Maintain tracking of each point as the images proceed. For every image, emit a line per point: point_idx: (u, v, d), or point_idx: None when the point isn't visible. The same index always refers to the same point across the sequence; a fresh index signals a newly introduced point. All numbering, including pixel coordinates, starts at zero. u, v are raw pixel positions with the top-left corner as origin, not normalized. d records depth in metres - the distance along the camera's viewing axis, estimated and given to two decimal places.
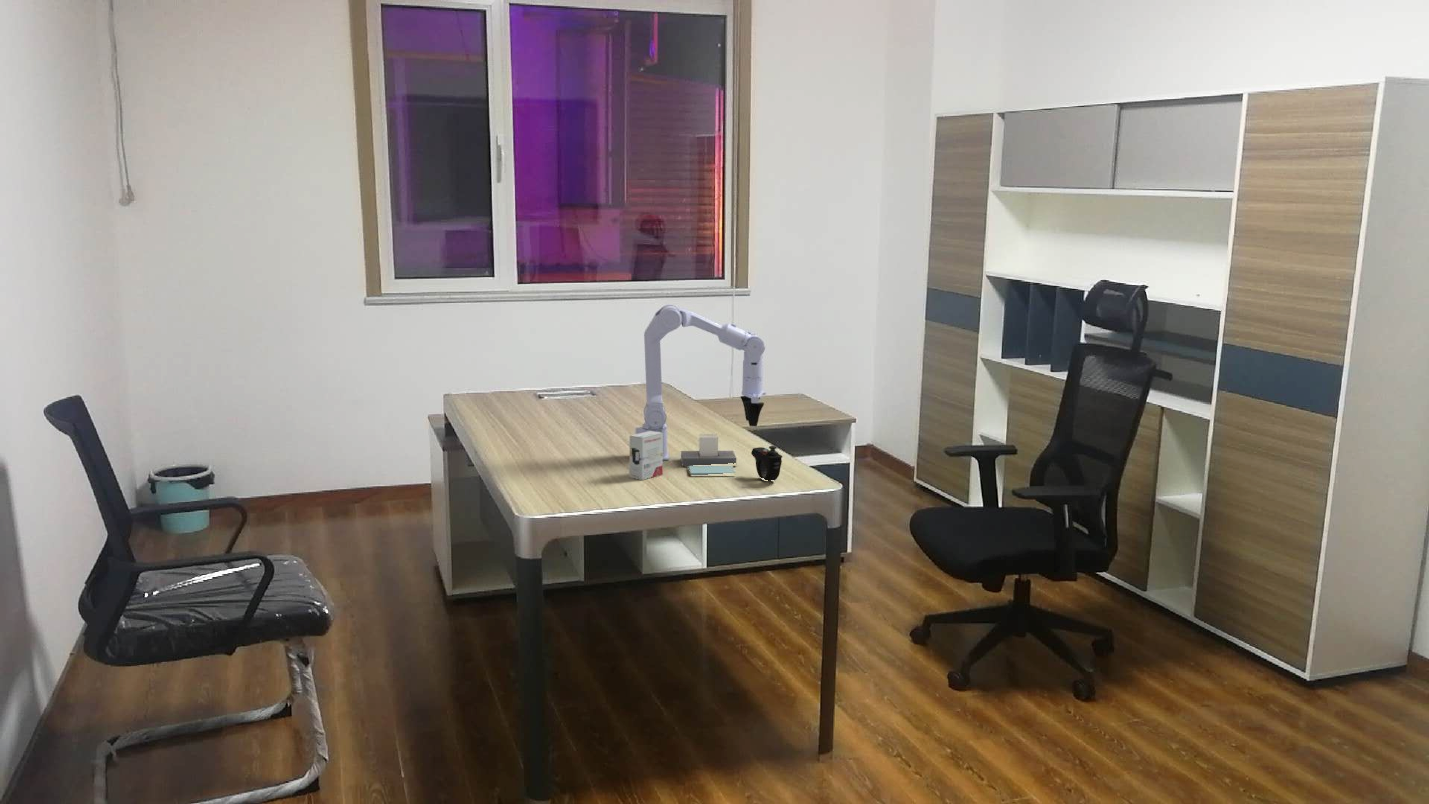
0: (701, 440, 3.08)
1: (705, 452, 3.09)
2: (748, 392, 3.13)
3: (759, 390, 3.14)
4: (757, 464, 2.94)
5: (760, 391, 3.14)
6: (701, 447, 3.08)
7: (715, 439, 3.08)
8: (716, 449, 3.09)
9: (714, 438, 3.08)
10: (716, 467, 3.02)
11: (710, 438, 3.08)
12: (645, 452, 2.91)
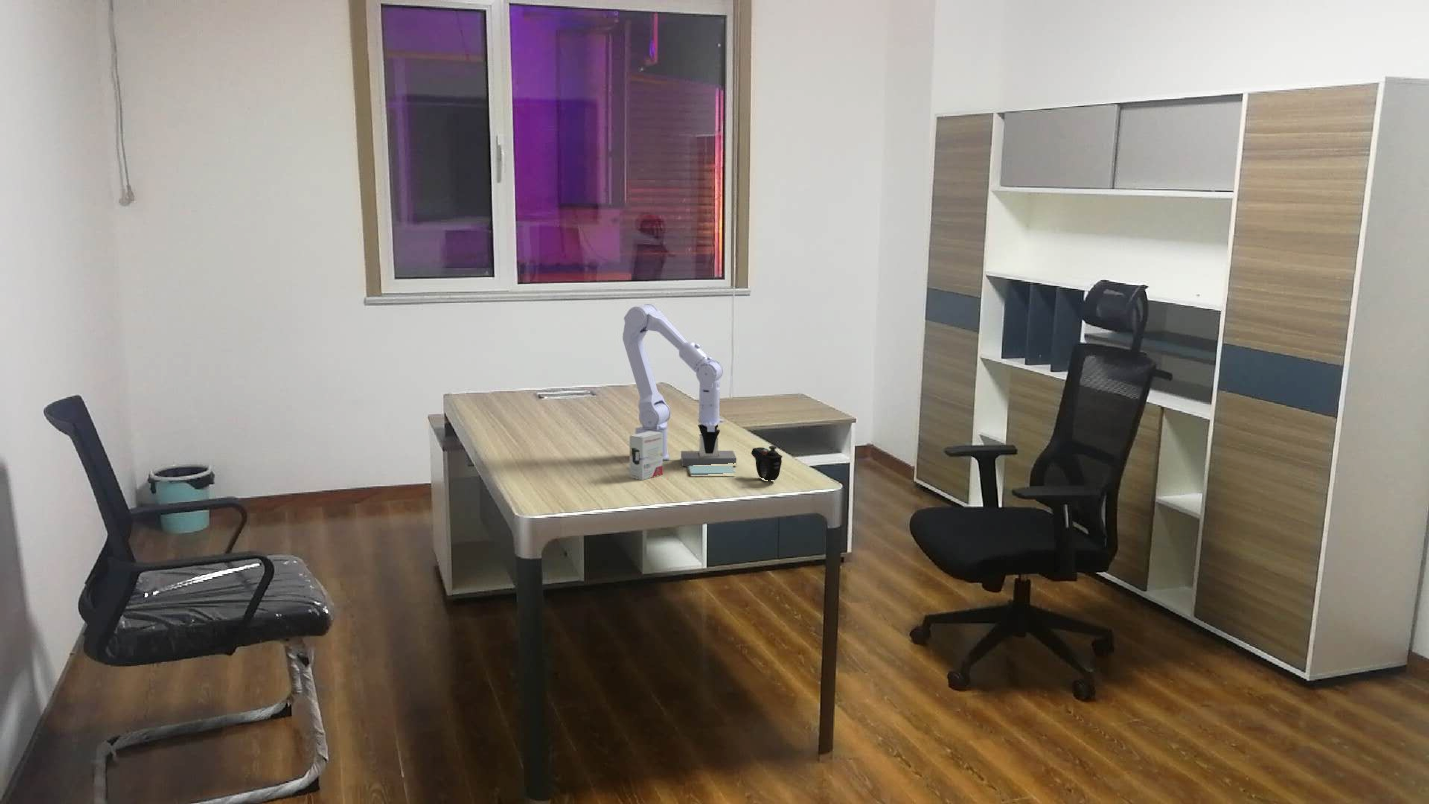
0: (701, 440, 3.08)
1: None
2: (704, 420, 3.06)
3: (716, 418, 3.07)
4: (757, 464, 2.94)
5: (717, 419, 3.07)
6: (701, 447, 3.08)
7: None
8: (716, 449, 3.09)
9: None
10: (716, 467, 3.02)
11: None
12: (645, 452, 2.91)
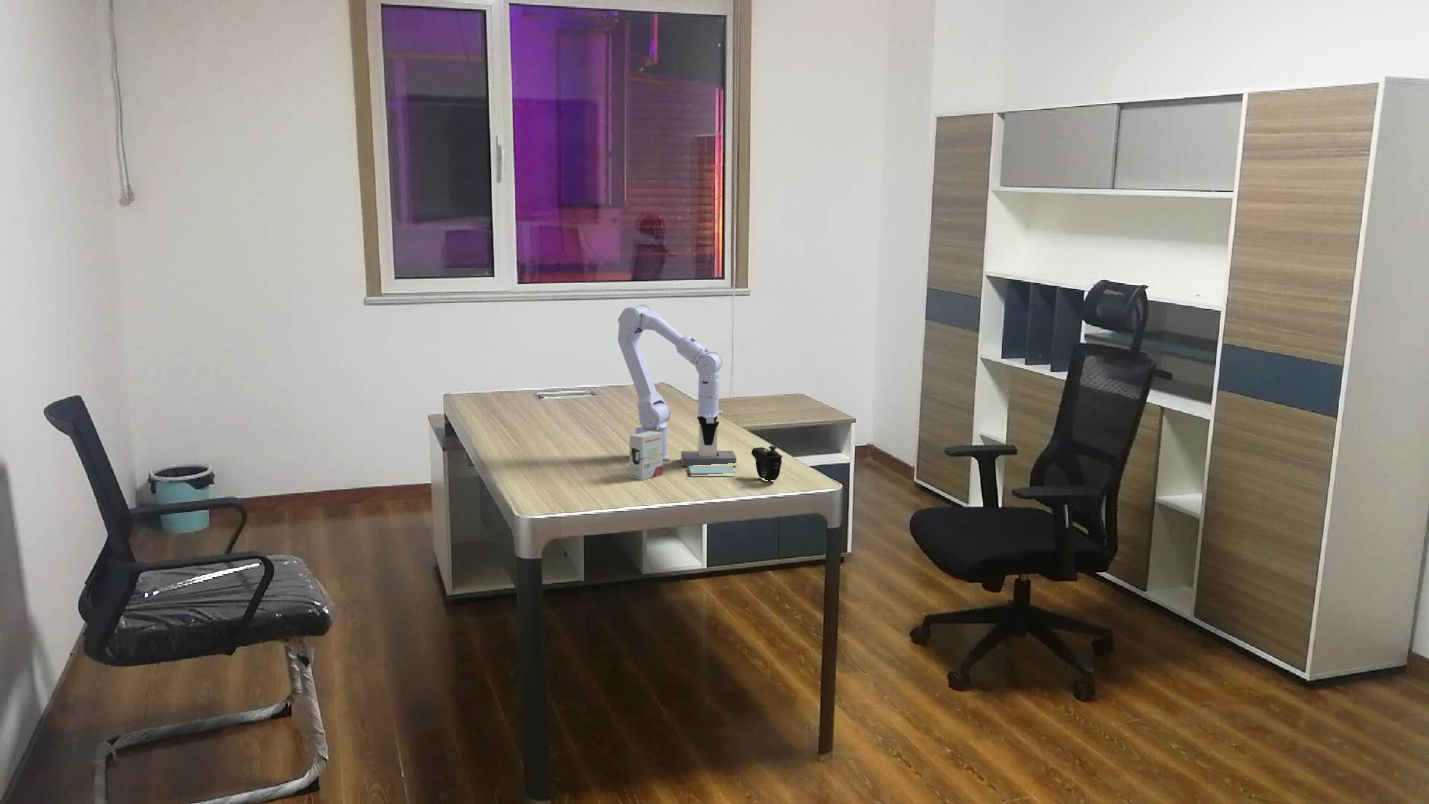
0: (700, 432, 3.07)
1: (704, 444, 3.08)
2: (704, 412, 3.06)
3: (715, 410, 3.06)
4: (757, 464, 2.94)
5: (716, 411, 3.07)
6: (700, 439, 3.08)
7: None
8: (715, 441, 3.08)
9: None
10: (716, 467, 3.02)
11: None
12: (645, 452, 2.91)
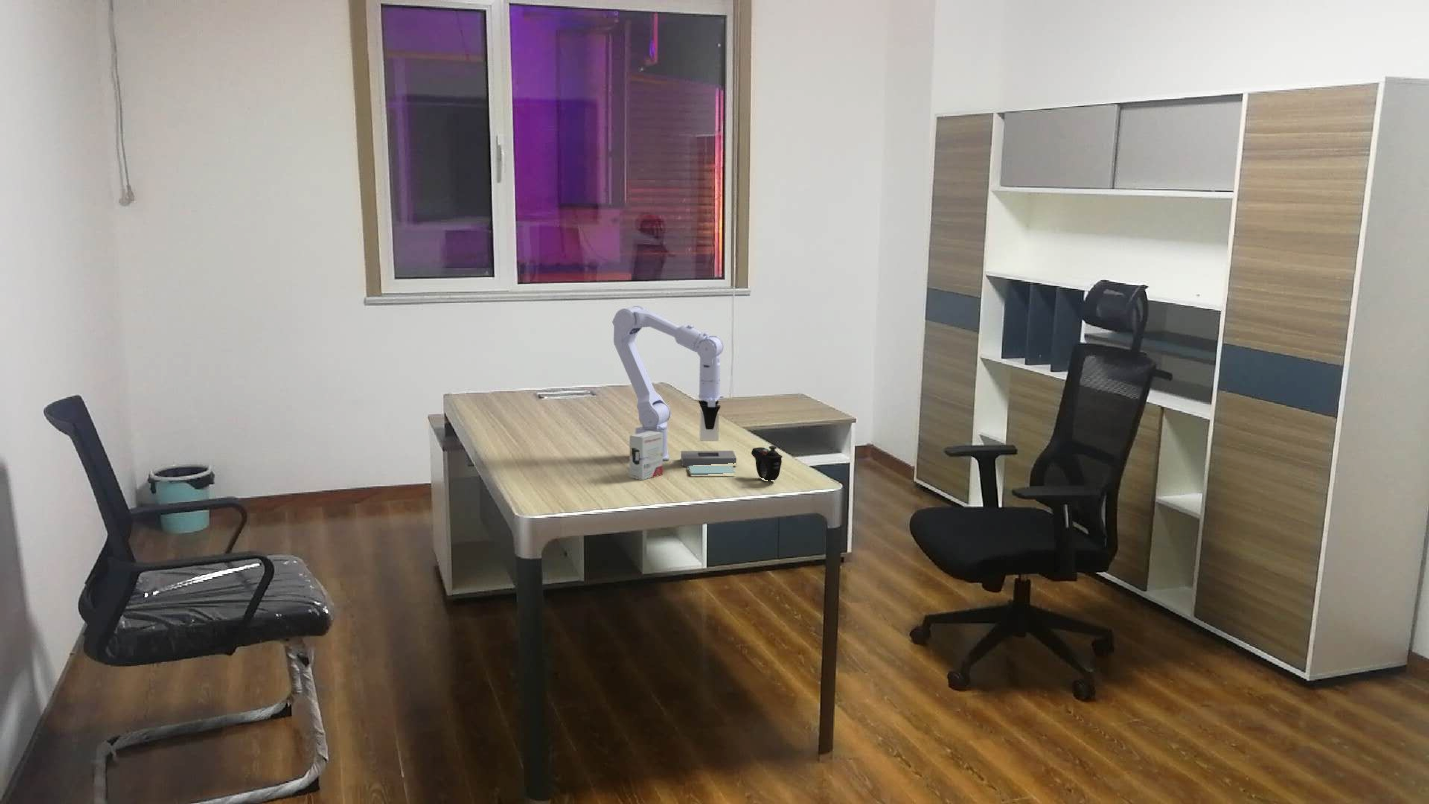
0: (702, 416, 3.06)
1: None
2: (705, 395, 3.05)
3: (716, 394, 3.05)
4: (757, 464, 2.94)
5: (717, 394, 3.06)
6: (701, 423, 3.07)
7: None
8: (717, 425, 3.07)
9: None
10: (716, 467, 3.02)
11: None
12: (645, 452, 2.91)
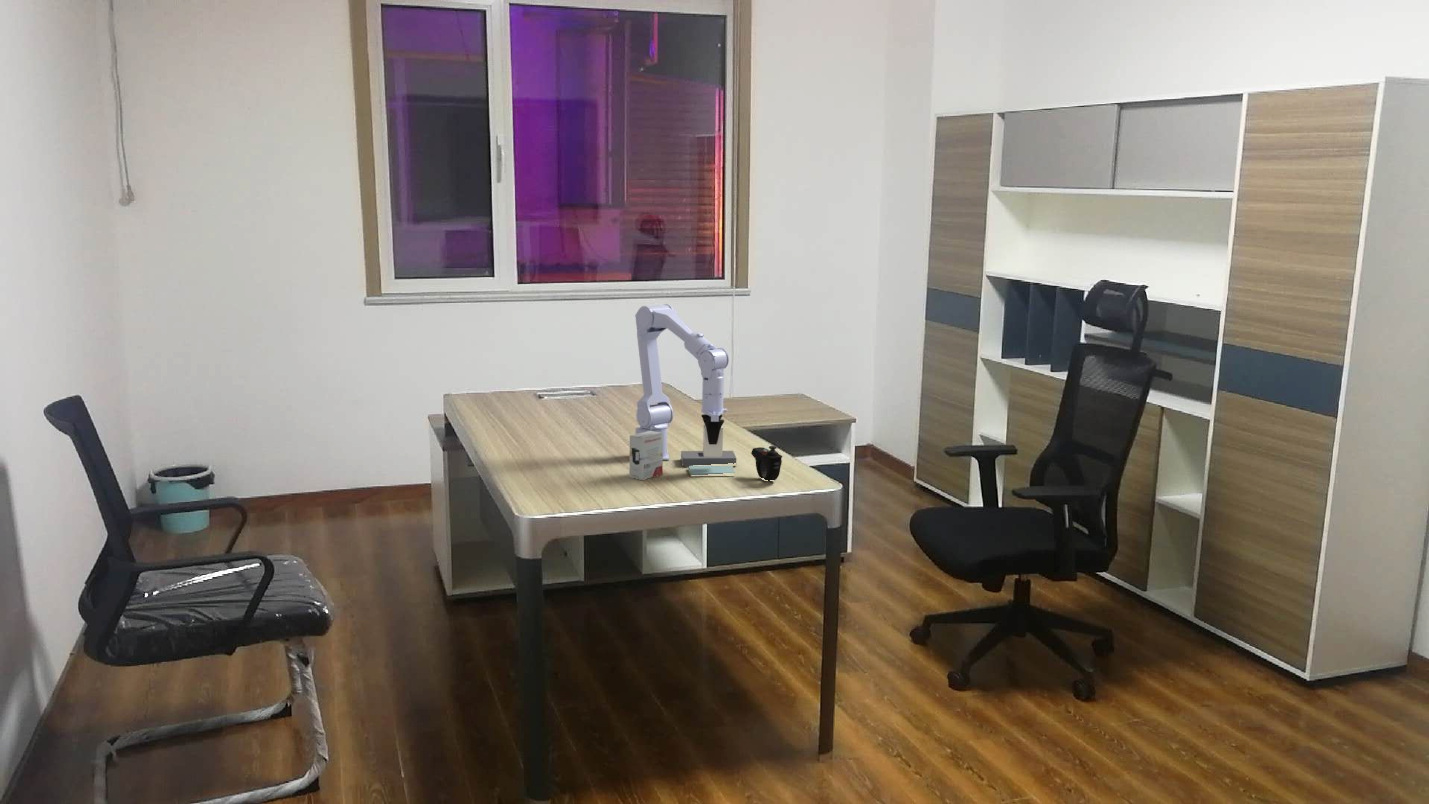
0: (705, 431, 2.96)
1: (710, 444, 2.97)
2: (708, 410, 2.95)
3: (720, 408, 2.95)
4: (757, 464, 2.94)
5: (721, 408, 2.96)
6: (705, 438, 2.97)
7: (720, 430, 2.96)
8: (721, 440, 2.97)
9: None
10: (716, 467, 3.02)
11: None
12: (645, 452, 2.91)
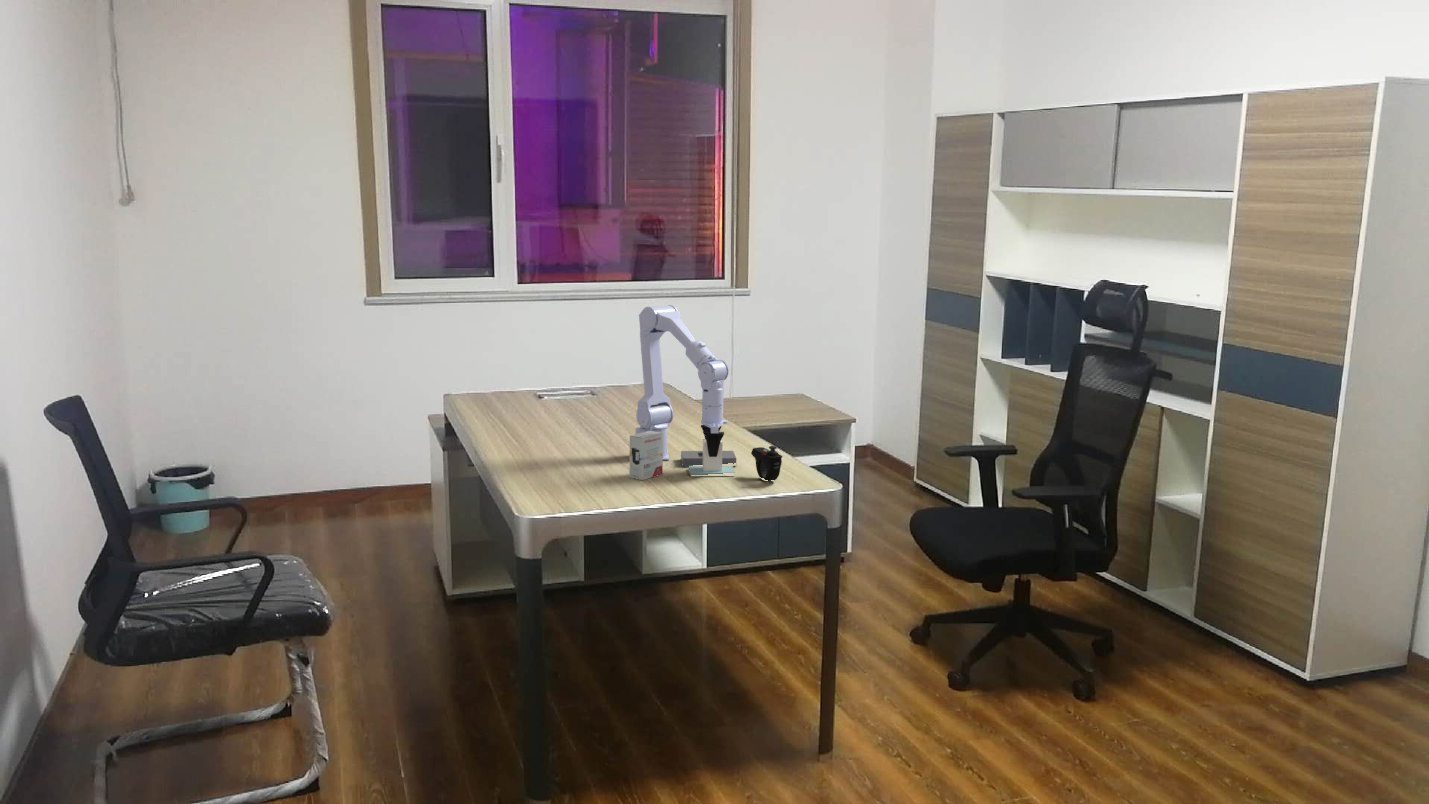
0: (705, 445, 2.97)
1: (709, 458, 2.98)
2: (708, 421, 2.95)
3: (719, 419, 2.96)
4: (757, 464, 2.94)
5: (721, 420, 2.96)
6: (704, 453, 2.97)
7: None
8: (720, 455, 2.98)
9: None
10: None
11: None
12: (645, 452, 2.91)
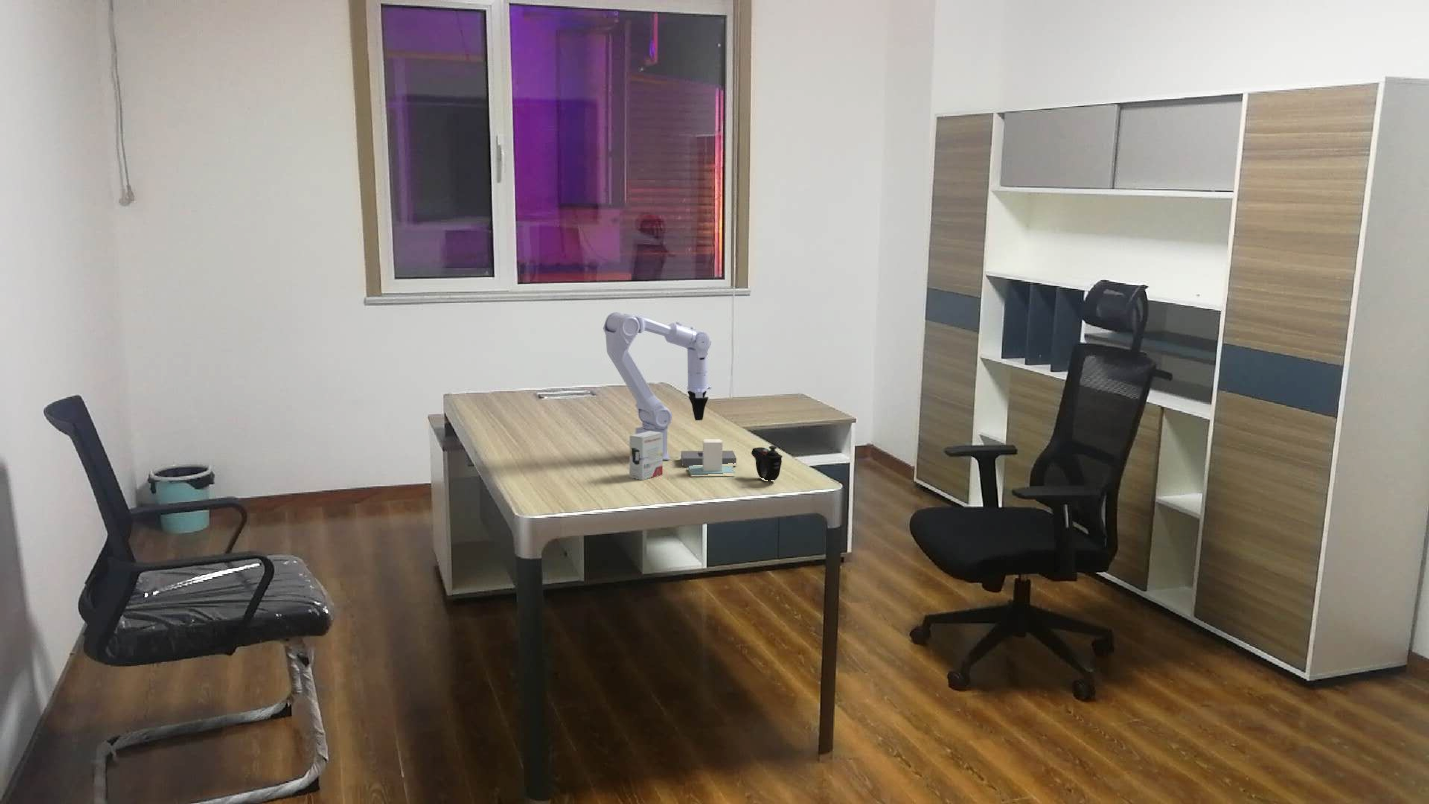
0: (705, 445, 2.97)
1: (709, 458, 2.98)
2: (693, 387, 3.18)
3: (704, 385, 3.19)
4: (757, 464, 2.94)
5: (705, 386, 3.19)
6: (704, 453, 2.97)
7: (719, 444, 2.97)
8: (720, 455, 2.98)
9: (718, 443, 2.97)
10: None
11: (714, 443, 2.97)
12: (645, 452, 2.91)
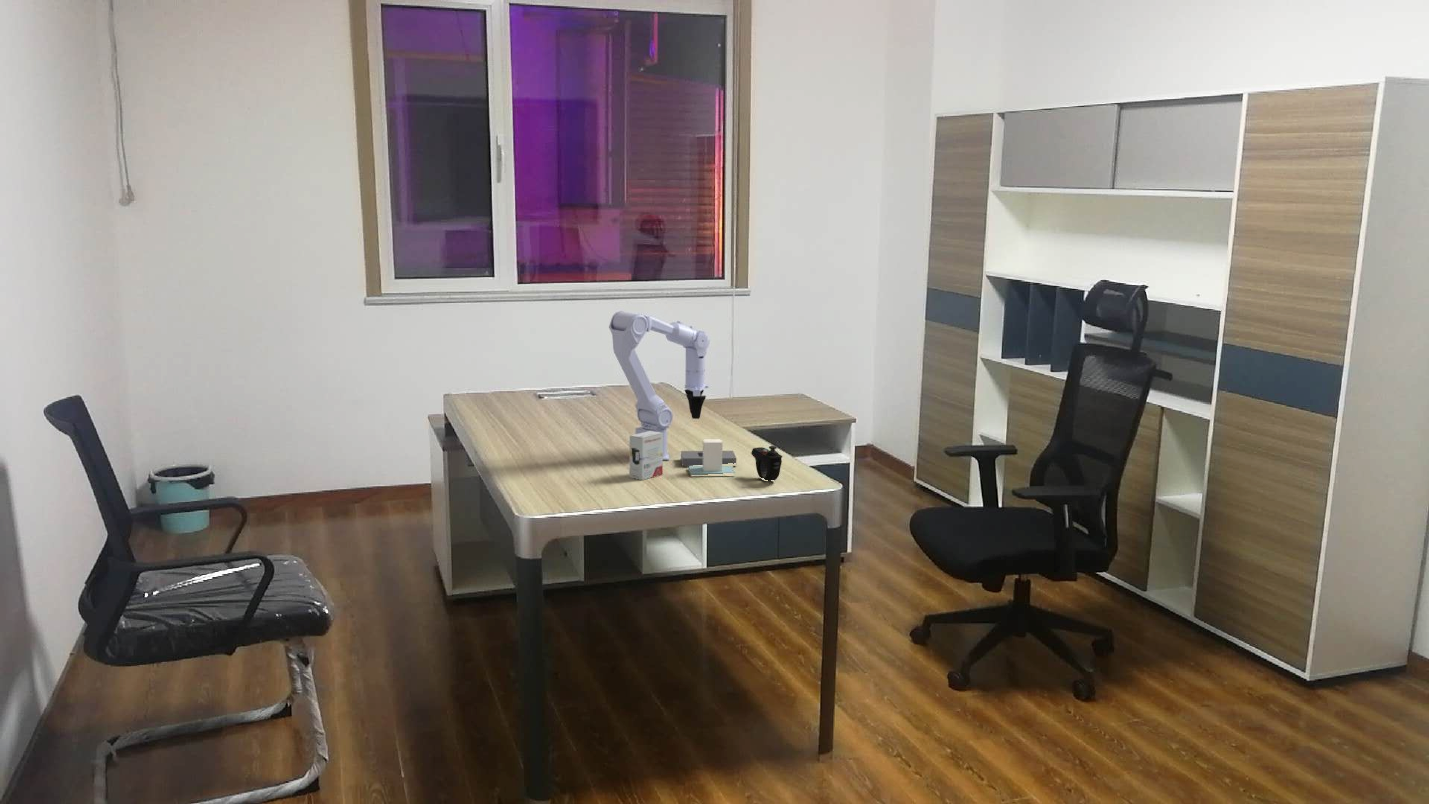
0: (705, 445, 2.97)
1: (709, 458, 2.98)
2: (691, 385, 3.20)
3: (701, 384, 3.21)
4: (757, 464, 2.94)
5: (702, 384, 3.21)
6: (704, 453, 2.97)
7: (719, 444, 2.97)
8: (720, 455, 2.98)
9: (718, 443, 2.97)
10: None
11: (714, 443, 2.97)
12: (645, 452, 2.91)
